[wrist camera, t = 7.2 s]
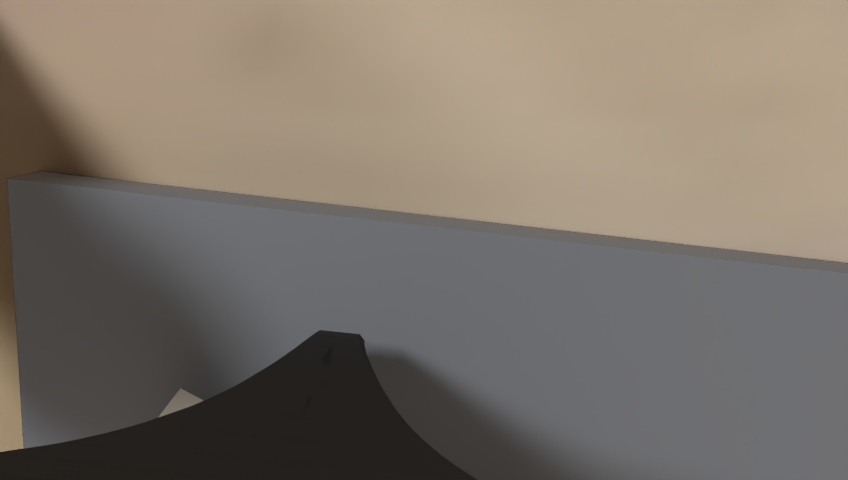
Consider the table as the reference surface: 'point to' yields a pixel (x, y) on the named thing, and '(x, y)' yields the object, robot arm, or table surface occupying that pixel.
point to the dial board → (434, 330)
